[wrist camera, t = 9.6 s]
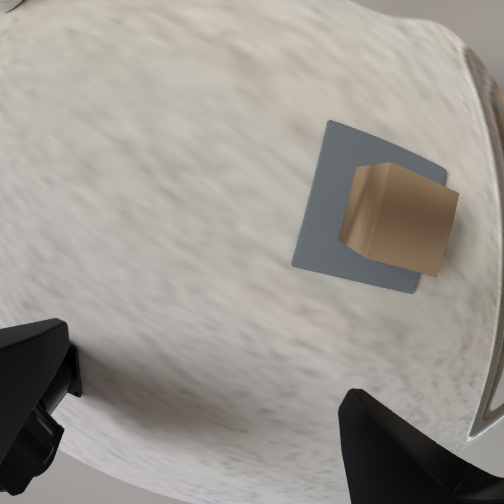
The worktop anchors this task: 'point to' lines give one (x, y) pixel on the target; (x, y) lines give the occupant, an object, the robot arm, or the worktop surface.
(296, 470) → the worktop surface
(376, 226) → the walnut cube
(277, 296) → the worktop surface
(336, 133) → the slate pad
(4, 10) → the milk bottle
